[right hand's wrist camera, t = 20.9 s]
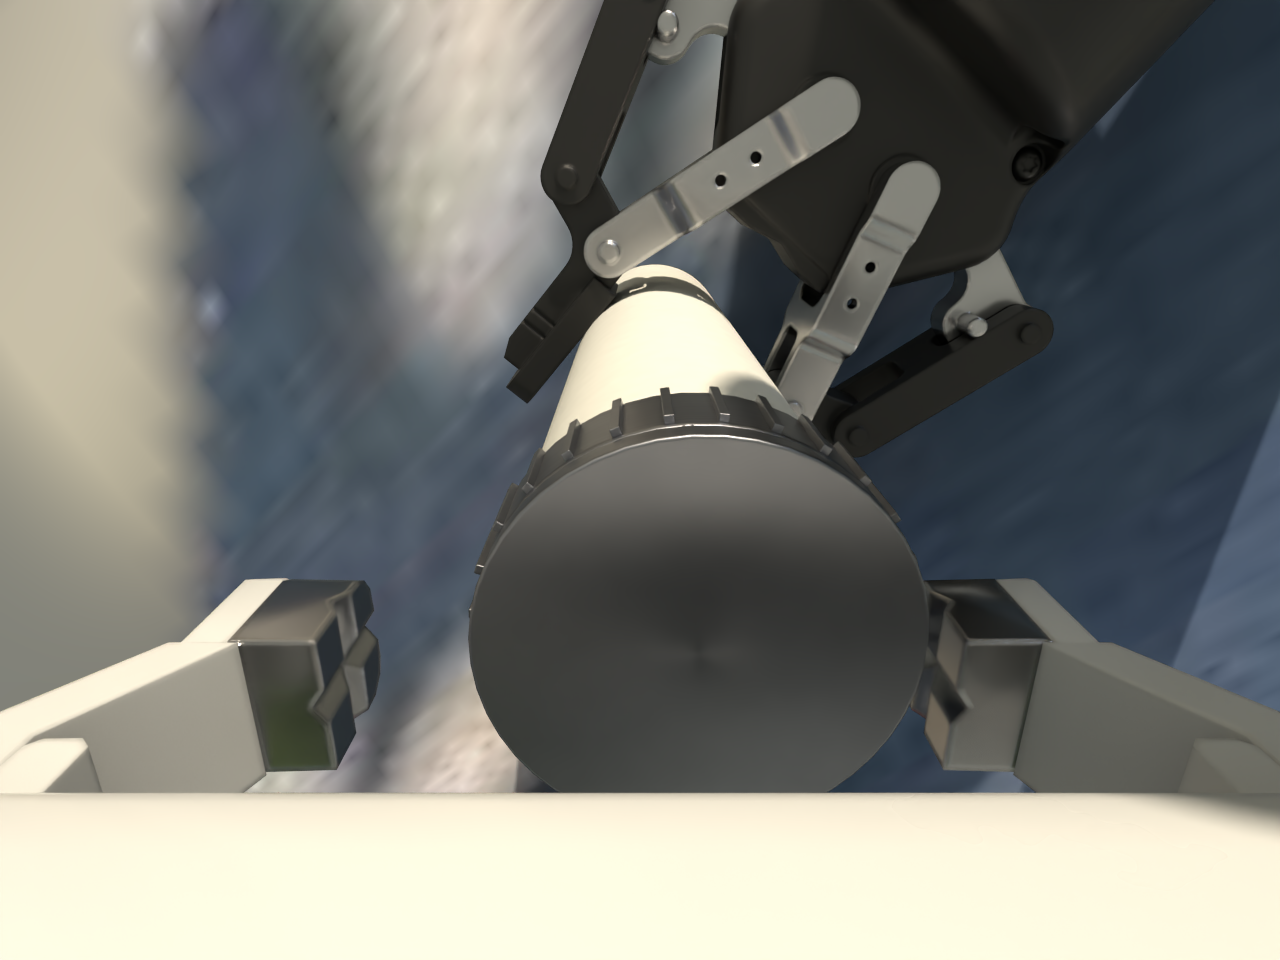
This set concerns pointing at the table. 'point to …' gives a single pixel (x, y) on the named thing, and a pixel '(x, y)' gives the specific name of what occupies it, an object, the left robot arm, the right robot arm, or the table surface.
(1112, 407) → the table surface
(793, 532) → the lid
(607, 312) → the jar
